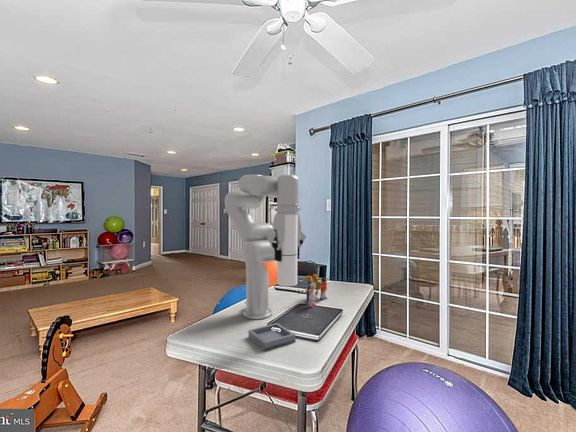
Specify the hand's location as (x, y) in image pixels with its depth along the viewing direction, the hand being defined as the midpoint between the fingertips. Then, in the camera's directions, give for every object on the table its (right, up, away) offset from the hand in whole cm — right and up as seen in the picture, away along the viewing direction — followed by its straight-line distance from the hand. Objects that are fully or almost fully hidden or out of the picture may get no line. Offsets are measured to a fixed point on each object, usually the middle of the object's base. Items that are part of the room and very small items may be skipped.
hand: (287, 259), depth 107 cm
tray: (-5, -28, -2) cm, 28 cm away
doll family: (+12, -26, +38) cm, 48 cm away
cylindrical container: (0, -9, 0) cm, 9 cm away
